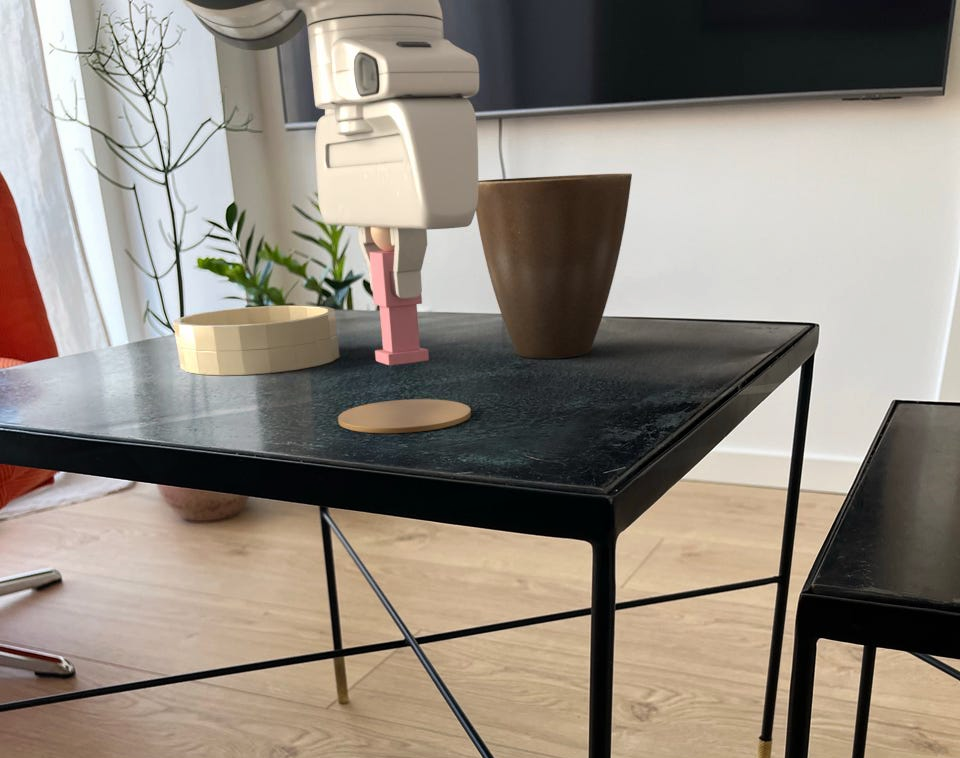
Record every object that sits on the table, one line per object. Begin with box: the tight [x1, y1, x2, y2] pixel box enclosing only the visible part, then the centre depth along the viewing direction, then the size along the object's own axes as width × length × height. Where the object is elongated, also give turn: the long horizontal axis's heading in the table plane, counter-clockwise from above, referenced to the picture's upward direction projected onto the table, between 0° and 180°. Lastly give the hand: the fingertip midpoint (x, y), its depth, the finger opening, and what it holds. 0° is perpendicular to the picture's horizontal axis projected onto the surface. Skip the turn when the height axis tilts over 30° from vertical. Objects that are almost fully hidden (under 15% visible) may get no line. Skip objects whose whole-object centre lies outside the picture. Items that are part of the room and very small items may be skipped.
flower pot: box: [475, 173, 633, 360], centre depth 97 cm, size 15×15×16 cm
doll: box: [369, 227, 430, 366], centre depth 73 cm, size 3×3×10 cm
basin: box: [172, 304, 340, 376], centre depth 100 cm, size 15×15×5 cm
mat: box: [337, 398, 472, 434], centre depth 76 cm, size 10×10×1 cm
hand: (396, 295), depth 73 cm, fingers closed on doll, 2 cm apart
